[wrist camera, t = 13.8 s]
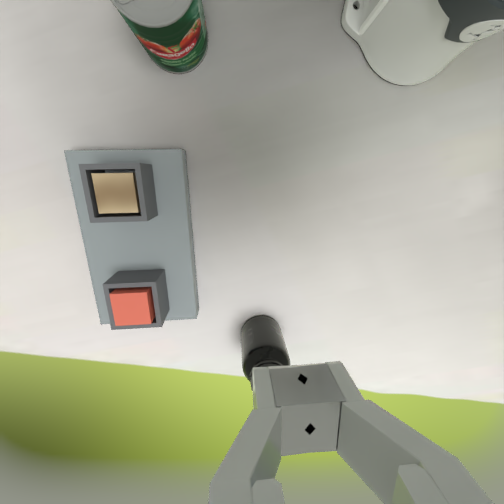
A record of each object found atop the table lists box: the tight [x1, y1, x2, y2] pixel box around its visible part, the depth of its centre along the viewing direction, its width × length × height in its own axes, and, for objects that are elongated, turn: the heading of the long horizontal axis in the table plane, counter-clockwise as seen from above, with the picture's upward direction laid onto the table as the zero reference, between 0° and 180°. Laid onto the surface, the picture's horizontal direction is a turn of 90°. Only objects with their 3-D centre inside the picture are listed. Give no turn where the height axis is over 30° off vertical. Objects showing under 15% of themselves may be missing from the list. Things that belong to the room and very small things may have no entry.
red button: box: [109, 287, 156, 326], centre depth 34 cm, size 4×4×4 cm
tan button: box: [91, 173, 141, 214], centre depth 31 cm, size 4×4×4 cm
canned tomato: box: [111, 0, 208, 74], centre depth 26 cm, size 8×8×11 cm
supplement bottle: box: [241, 316, 290, 391], centre depth 38 cm, size 7×7×12 cm
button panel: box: [64, 149, 199, 330], centre depth 34 cm, size 24×14×8 cm, turn 1°
